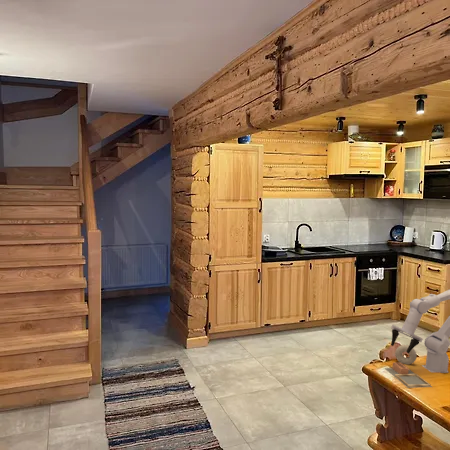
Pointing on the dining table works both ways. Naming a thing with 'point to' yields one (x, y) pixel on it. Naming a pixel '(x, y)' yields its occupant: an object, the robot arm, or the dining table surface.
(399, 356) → the donut
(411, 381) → the mat
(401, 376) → the frame
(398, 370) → the reddish brown block
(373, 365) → the dining table surface
